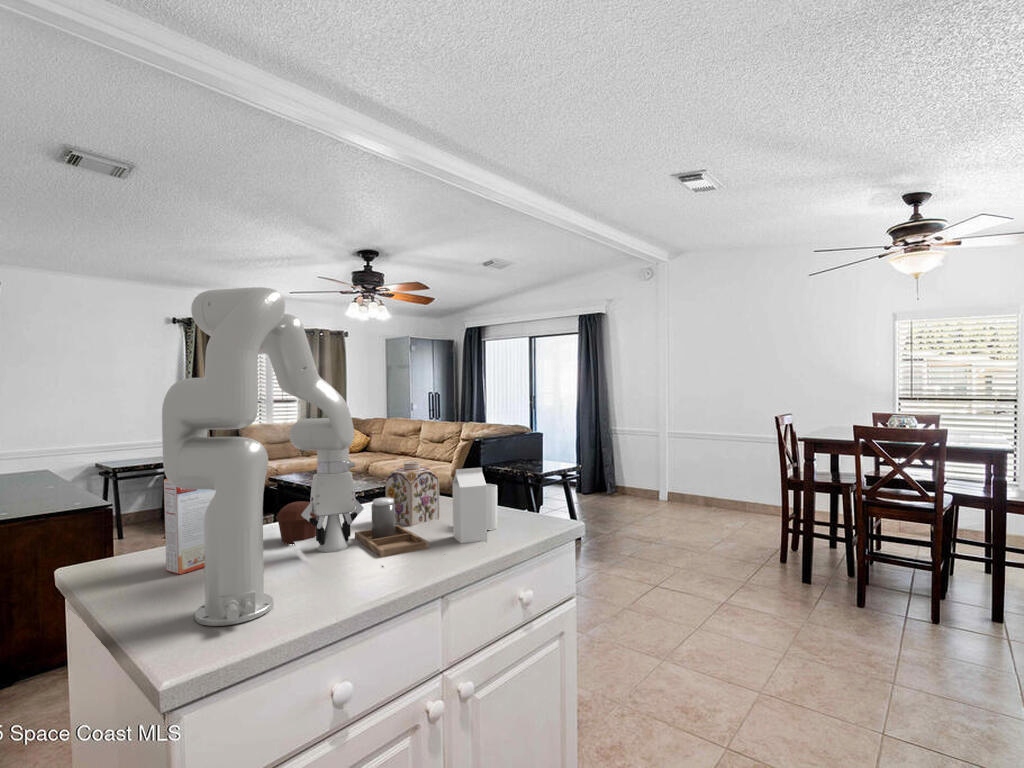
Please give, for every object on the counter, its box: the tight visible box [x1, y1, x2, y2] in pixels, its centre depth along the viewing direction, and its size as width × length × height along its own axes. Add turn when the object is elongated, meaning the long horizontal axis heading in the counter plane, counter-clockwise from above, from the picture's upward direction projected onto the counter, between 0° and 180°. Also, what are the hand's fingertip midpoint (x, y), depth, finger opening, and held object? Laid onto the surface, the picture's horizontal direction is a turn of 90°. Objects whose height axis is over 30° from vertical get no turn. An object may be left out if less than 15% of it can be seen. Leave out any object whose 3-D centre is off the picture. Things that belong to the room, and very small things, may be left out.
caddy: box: [354, 524, 430, 559], centre depth 137 cm, size 20×12×3 cm, turn 33°
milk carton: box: [452, 467, 488, 544], centre depth 140 cm, size 7×7×19 cm
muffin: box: [275, 500, 317, 546], centre depth 145 cm, size 12×11×10 cm
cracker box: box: [163, 478, 216, 575], centre depth 126 cm, size 14×6×21 cm, turn 149°
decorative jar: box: [385, 461, 441, 527], centre depth 162 cm, size 12×12×18 cm
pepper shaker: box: [371, 497, 396, 539], centre depth 141 cm, size 6×6×10 cm
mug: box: [486, 483, 498, 530], centre depth 155 cm, size 10×7×12 cm, turn 44°
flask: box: [317, 514, 350, 553], centre depth 134 cm, size 7×7×10 cm
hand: (333, 541), depth 134 cm, fingers closed on flask, 5 cm apart
